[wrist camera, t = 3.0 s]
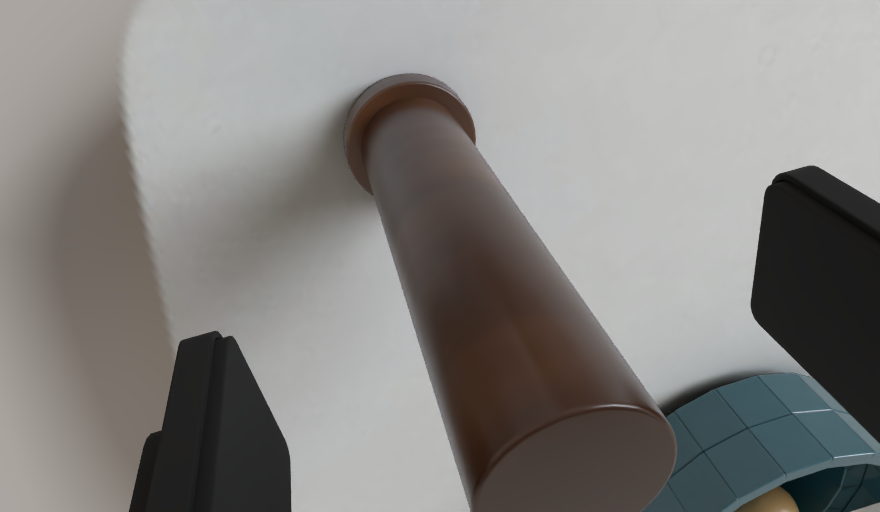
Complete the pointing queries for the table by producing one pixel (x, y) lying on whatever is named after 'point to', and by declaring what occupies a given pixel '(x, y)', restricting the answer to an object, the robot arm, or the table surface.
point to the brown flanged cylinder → (501, 321)
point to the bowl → (769, 449)
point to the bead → (771, 502)
